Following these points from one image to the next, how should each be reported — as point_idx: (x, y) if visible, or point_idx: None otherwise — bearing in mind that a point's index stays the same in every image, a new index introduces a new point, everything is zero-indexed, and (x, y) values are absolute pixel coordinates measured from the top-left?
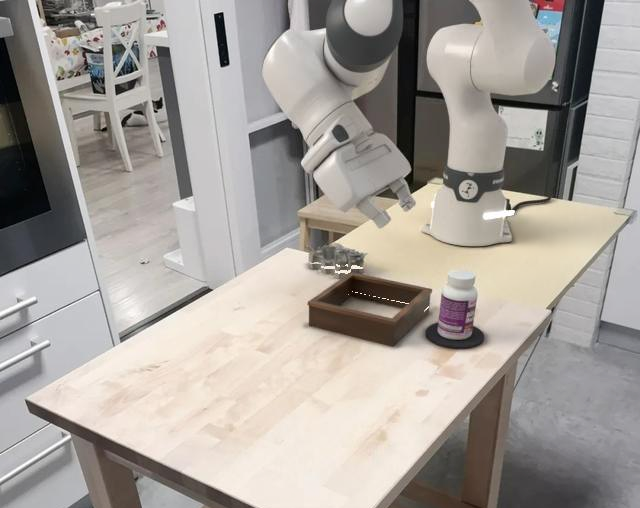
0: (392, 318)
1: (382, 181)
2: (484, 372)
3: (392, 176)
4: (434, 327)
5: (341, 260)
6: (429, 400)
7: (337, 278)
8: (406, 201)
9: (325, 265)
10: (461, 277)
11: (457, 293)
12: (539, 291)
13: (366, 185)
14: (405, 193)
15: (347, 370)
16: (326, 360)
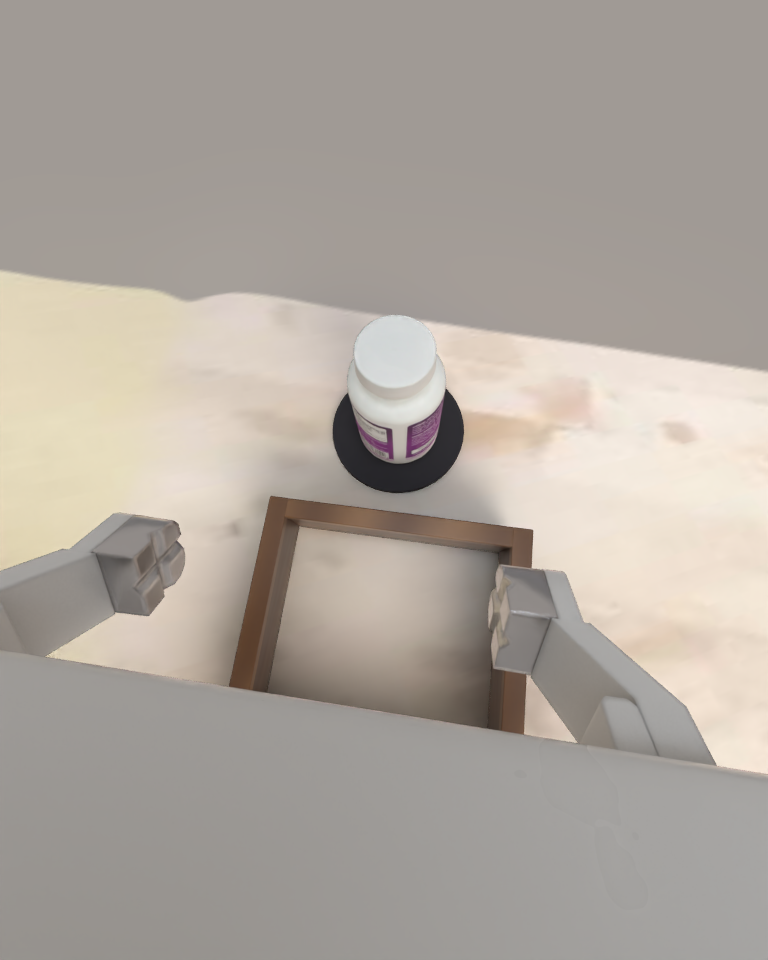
0: (513, 544)
1: (341, 734)
2: (534, 347)
3: (73, 689)
4: (383, 476)
5: None
6: (698, 413)
7: None
8: (151, 559)
9: None
10: (423, 345)
11: (439, 371)
12: (94, 314)
13: (764, 858)
14: (71, 581)
15: (676, 607)
16: (658, 675)
